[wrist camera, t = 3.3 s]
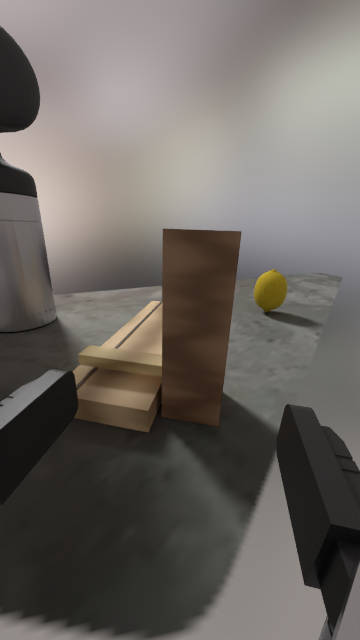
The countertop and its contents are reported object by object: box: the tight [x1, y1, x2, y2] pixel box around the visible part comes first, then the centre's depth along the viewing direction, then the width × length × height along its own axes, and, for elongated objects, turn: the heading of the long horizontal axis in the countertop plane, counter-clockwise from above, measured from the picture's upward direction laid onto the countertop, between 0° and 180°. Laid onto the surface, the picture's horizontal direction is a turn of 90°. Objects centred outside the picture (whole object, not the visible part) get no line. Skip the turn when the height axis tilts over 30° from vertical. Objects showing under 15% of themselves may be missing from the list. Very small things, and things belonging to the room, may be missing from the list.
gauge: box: [78, 229, 241, 427], centre depth 19 cm, size 12×4×14 cm, turn 79°
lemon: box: [254, 269, 287, 312], centre depth 43 cm, size 6×6×8 cm
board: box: [72, 301, 162, 433], centre depth 30 cm, size 8×26×2 cm, turn 169°
